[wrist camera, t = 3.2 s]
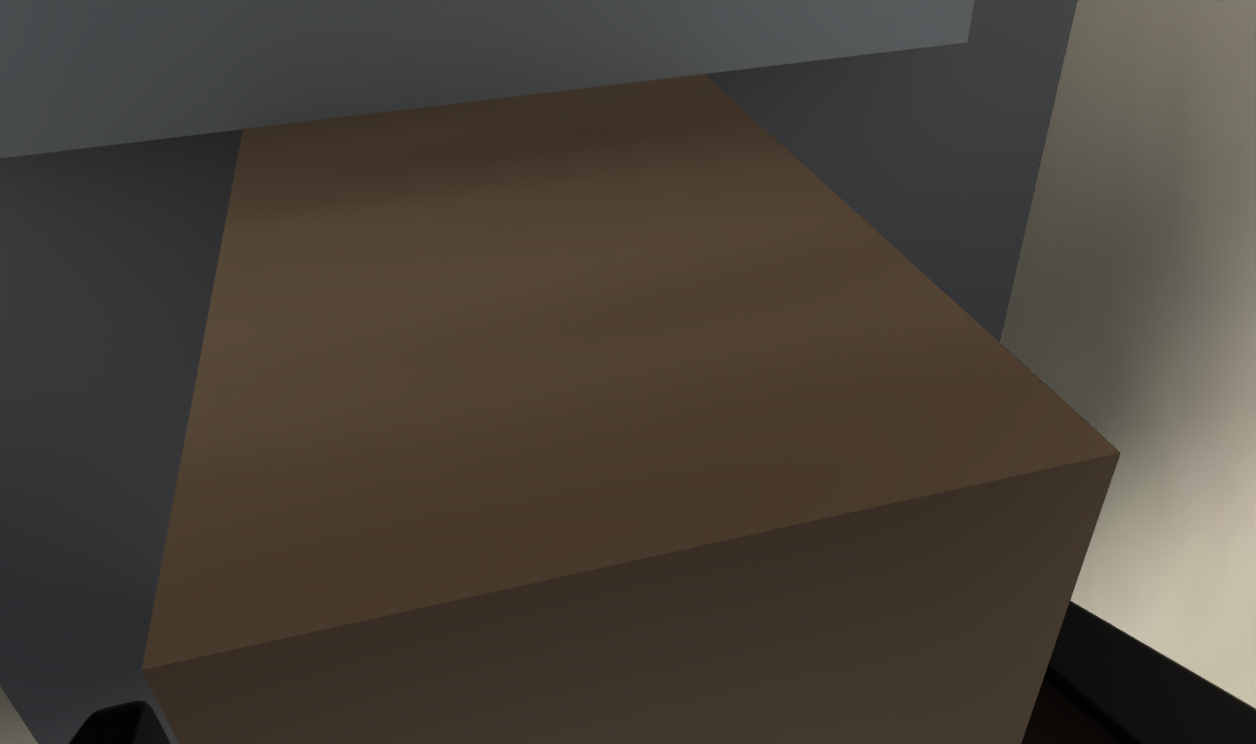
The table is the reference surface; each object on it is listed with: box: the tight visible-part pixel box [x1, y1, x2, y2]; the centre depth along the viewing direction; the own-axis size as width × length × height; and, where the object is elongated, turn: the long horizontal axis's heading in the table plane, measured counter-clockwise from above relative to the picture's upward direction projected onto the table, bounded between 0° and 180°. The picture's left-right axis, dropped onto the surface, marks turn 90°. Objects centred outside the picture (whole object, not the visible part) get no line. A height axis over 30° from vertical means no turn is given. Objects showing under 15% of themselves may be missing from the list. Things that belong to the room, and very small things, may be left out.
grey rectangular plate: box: [0, 0, 1077, 744], centre depth 9 cm, size 10×22×1 cm, turn 1°
